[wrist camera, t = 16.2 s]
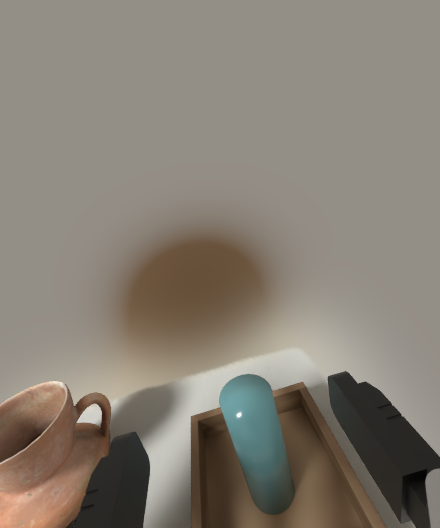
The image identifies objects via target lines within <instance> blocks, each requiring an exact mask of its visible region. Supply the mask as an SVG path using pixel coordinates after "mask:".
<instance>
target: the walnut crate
mask: <svg viewBox="0 0 440 528" xmlns="http://www.w3.org/2000/svg"><path fill="white" fill-rule="evenodd" d="M272 393H273V398H274V402H275V406H276V410H277V414H278V418H279V422H280V426H281V430H282V435H283V439H284V443H285V447H286V451H287V455H288V459H289V463H290V468H291V472H292V476H293V480H294V485H295V494H294V499H293V501H292V503H291V505H290V507H289V508H288V509H287V510H286V511H284V512H283V513H280V514H277V515H270V514H266V513H264V512H262V511H261V510H260V509H259V508H258V507H257V506H256V505H255V504H254V502H253V500H252V498H251V495H250V492H249V489H248V486H247V483H246V480H245V477H244V474H243V471H242V469H241V466H240V463H239V460H238V457H237V454H236V451H235V448H234V445H233V442H232V439H231V436H230V433H229V430H228V427H227V424H226V421H225V419H224V416H223V413H222V410H221V407H220V408H217V409H213V410H210V411H207V412H204V413H200V414H197V415H194V416H191V528H386V527H385V525H384V523H383V521H382V520H381V518H380V516H379V514H378V513H377V511H376V509H375V507H374V506H373V504H372V502H371V500H370V499H369V497H368V495H367V493H366V492H365V490H364V488H363V486H362V485H361V483H360V481H359V479H358V478H357V476H356V474H355V472H354V470H353V469H352V467H351V465H350V463H349V462H348V460H347V458H346V456H345V455H344V453H343V451H342V449H341V448H340V446H339V444H338V442H337V441H336V439H335V437H334V435H333V434H332V432H331V430H330V428H329V427H328V425H327V423H326V421H325V420H324V418H323V416H322V414H321V413H320V411H319V409H318V407H317V406H316V404H315V402H314V400H313V399H312V397H311V395H310V393H309V392H308V390H307V388H306V386H305V385H304V383H303V382H301V383H297V384H294V385H291V386H288V387H284V388H281V389H278V390H275V391H272Z"/></svg>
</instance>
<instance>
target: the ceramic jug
mask: <svg viewBox="0 0 440 528" xmlns="http://www.w3.org/2000/svg"><path fill="white" fill-rule="evenodd" d="M94 403H96V404H98V405H99V407H100V408H101V410H102V423H101V428H100V427H99V426H97V425H95V424H91V423H76V422H77V420H78V419H79V417H80V415H81V414H82V413H83V411H84V410H85V409H86V408H87V407H89V406H90V405H91V404H94ZM110 417H111V407H110V403H109V401H108V399H107V398H106V397H105V396H104V395H102V394H101V393H91V394H88V395H86V396H84V397H83V398H82V399H80V400H79V402H78V403H77V404H76V406H74V405H73V400H72V397H71V394H70V391H69V389H68V387H67V385H66V384H64V383H62V382H60V381H49V382H45V383H41V384H39V385H35V386H32V387H30V388H28V389H26V390H23V391H22V392H19V393H18V394H16V395H14V396H13V397H11V398H9V399H7V400H6V401H4V402H3V403H2V404H1V405H0V528H66V527H67V526H68V525H69V524H70V523H71V522H72V521H73V520H74V519H75V518H76V517H77V516H78V513H79V512H80V507H81V504H82V501H83V498H84V496H85V494H86V493H85V492H86V489H87V486H88V483H89V480H90V477H91V474H92V472H93V471H94V469H95V467H96V466H97V464H98V463H99V461H100V459H101V458H102V457H105V456H108V454H109V451H110V442H109V440H110V430H109V424H110Z"/></svg>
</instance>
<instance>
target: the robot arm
mask: <svg viewBox="0 0 440 528" xmlns="http://www.w3.org/2000/svg"><path fill="white" fill-rule="evenodd" d="M328 387H329V395H330V403H331V407H332V410H333V412H334V415H335V417H336V418H337V420H338V422H339V423H340V425H341V427H342V428H343V430H344V432H345V433H346V435H347V437H348V438H349V440H350V441H351V443H352V445H353V446H354V448H355V450H356V451H357V453H358V454H359V456H360V458H361V459H362V461H363V463H364V464H365V466H366V467H367V469H368V471H369V472H370V474H371V476H372V477H373V479H374V480H375V482H376V484H377V485H378V487H379V489H380V490H381V492H382V494H383V495H384V497H385V498H386V500H387V502H388V503H389V505H390V507H391V508H392V510H393V511H394V513H395V515H396V516H397V518H398V520H399V521H400V523H404V522H408V521H411V520H412V522H413V523H414V525H415V527H416V528H440V457H439V456H438V455H437V454H436V452H435V451H434V450H433V449H432V448H431V447H430V446H429V445H428V444H427V442H426V441H425V440H424V439H423V438H422V437H421V436H420V435H419V433H418V432H417V431H416V430H415V429H414V428H413V427H412V426H411V425H410V424H409V422H408V421H407V420H406V419H405V418H404V417H402V416H401V413H400V412H399V411H398V410H397V409H396V408H395V407H394V406H392V404H391V402H390V401H389V400H388V399H387V398H386V397H385V396H384V395H383V394H382V392H381V391H380V390H378V389H377V388H375V387H373V386H372V385H370V384H369V383H367V382H362V383H359V384H358V383H357V382H356V381H355V380H354V379H353V377H352V376H351V375H350V374H349V373H348V372H346V371H345V372H341V373H338V374H334V375H331V376H328ZM149 476H150V462H149V457H148V455H147V453H146V451H145V449H144V447H143V445H142V443H141V441H140V439H139V437H138V435H137V434H136V432H131V433H128V434H124V435H121V436H117V437H115V438H114V439H113V441H112V444H111V447H110V451H109V454H108V456H105V457H102V458H101V459H100V461H99V463H98V464H97V466H96V467H95V469H94V471H93V472H92V474H91V477H90V480H89V483H88V486H87V489H86V492H85V493H86V494H85V496H84V498H83V501H82V504H81V507H80V512H79V513H78V516H77V519H76V522H75V525H74V528H143V522H144V514H145V507H146V499H147V491H148V484H149Z"/></svg>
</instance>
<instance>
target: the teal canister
mask: <svg viewBox="0 0 440 528" xmlns="http://www.w3.org/2000/svg"><path fill="white" fill-rule="evenodd" d="M219 403H220V407H221V410H222V413H223V416H224V419H225V421H226V424H227V427H228V430H229V433H230V436H231V439H232V442H233V445H234V448H235V451H236V454H237V457H238V460H239V463H240V466H241V469H242V471H243V474H244V477H245V480H246V483H247V486H248V489H249V492H250V495H251V498H252V500H253V502H254V504H255V505H256V506H257V507H258V508H259V509H260V510H261V511H262V512H264V513H266V514H270V515H277V514H280V513H283V512H284V511H286V510H287V509H288V508H289V507H290V505H291V503H292V501H293V499H294V494H295V485H294V480H293V476H292V472H291V468H290V463H289V459H288V455H287V451H286V447H285V443H284V439H283V435H282V430H281V426H280V422H279V418H278V414H277V410H276V406H275V402H274V398H273V393H272V389H271V387H270V385H269V383H268V382H267V381H266V380H265V379H264V378H262V377H260V376H257V375H253V374H246V375H240V376H237V377H235V378H233V379H232V380H230V381H229V382H228V383H227V384H226V385H225V386H224V387H223V389H222V391H221V393H220V398H219Z"/></svg>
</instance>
